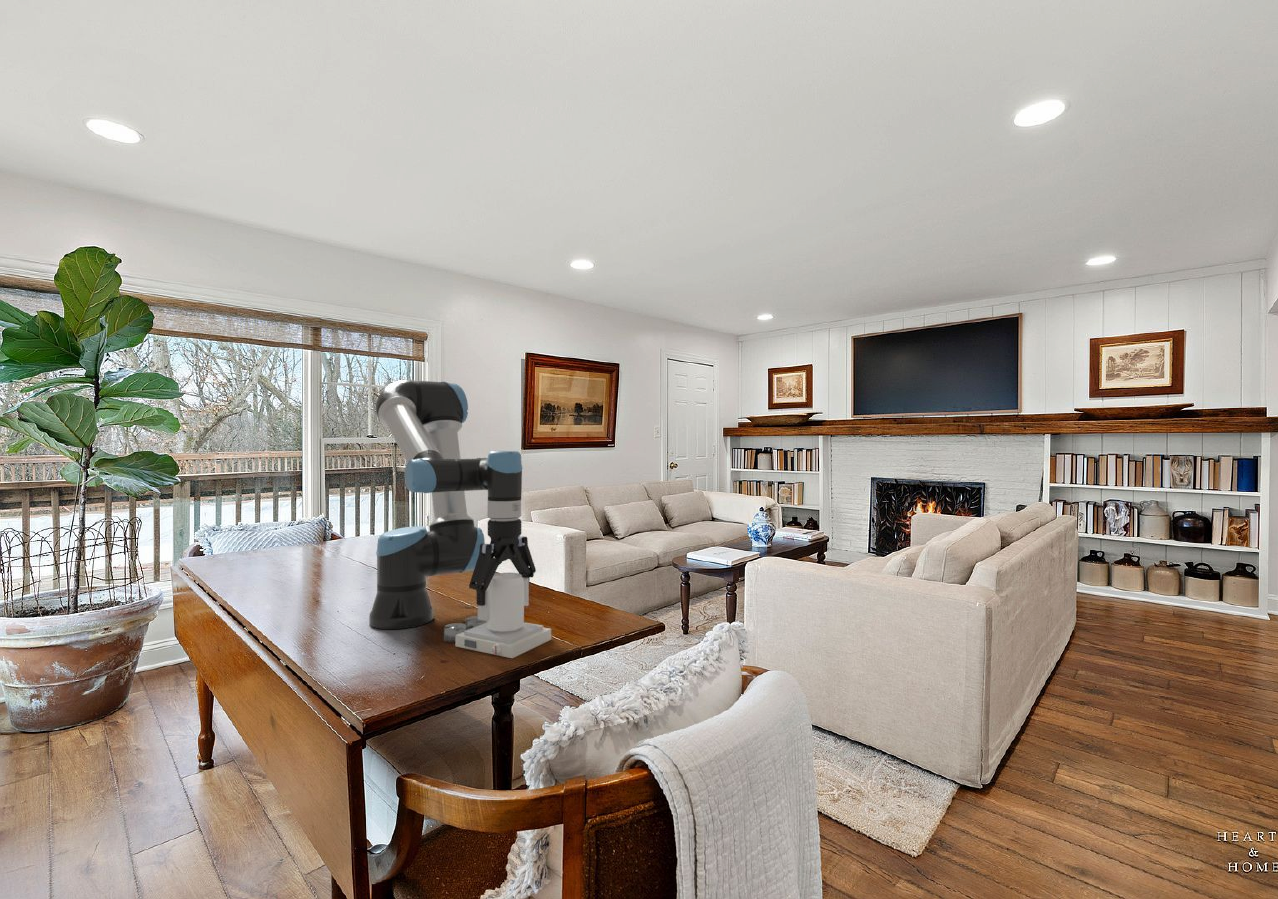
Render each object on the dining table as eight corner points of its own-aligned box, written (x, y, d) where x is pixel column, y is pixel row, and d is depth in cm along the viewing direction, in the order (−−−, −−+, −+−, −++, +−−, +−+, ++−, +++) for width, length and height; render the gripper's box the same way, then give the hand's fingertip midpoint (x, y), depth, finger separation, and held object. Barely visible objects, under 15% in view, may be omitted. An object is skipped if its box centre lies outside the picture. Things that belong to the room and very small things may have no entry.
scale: (453, 647, 135) (453, 632, 135) (497, 629, 148) (497, 616, 148) (510, 659, 128) (510, 643, 128) (551, 639, 141) (551, 625, 141)
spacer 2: (460, 632, 146) (460, 619, 146) (475, 626, 151) (475, 614, 151) (476, 635, 144) (476, 622, 144) (491, 629, 148) (491, 617, 148)
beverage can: (515, 635, 133) (515, 580, 133) (481, 632, 135) (481, 578, 135) (529, 624, 141) (529, 573, 141) (496, 622, 143) (496, 571, 143)
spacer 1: (439, 640, 140) (439, 627, 140) (454, 634, 145) (454, 622, 145) (455, 644, 138) (455, 630, 138) (470, 637, 142) (470, 625, 142)
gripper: (479, 526, 125) (478, 629, 125) (550, 514, 147) (550, 601, 148) (452, 524, 129) (451, 624, 129) (525, 512, 151) (525, 597, 151)
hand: (504, 612), depth 138 cm, fingers open, 13 cm apart
